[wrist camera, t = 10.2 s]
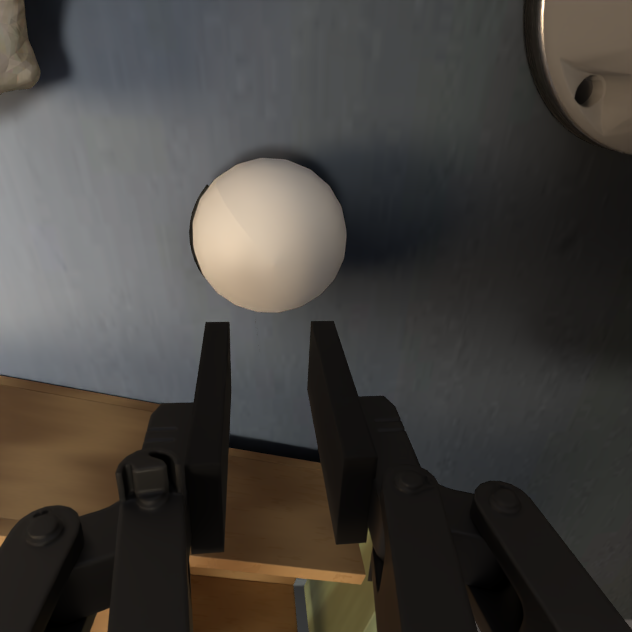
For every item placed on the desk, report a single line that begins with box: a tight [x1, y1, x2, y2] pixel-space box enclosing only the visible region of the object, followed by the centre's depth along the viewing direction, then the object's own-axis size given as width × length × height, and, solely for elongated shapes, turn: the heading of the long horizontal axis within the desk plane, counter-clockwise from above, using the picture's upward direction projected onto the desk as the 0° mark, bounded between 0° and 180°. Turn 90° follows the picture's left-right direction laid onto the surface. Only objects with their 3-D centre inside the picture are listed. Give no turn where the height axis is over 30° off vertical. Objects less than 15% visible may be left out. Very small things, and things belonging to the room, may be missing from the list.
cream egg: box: [189, 158, 347, 352], centre depth 25 cm, size 10×7×7 cm
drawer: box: [189, 448, 377, 632], centre depth 33 cm, size 23×14×9 cm, turn 72°
